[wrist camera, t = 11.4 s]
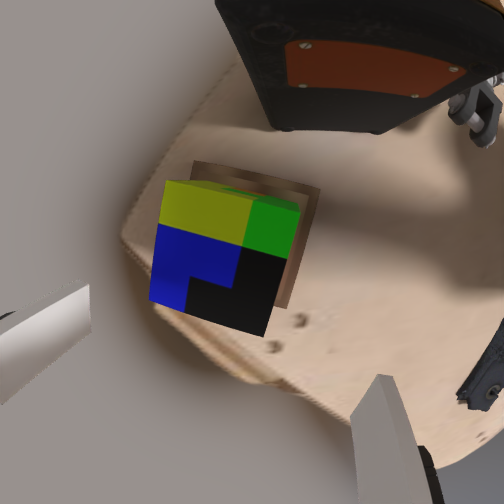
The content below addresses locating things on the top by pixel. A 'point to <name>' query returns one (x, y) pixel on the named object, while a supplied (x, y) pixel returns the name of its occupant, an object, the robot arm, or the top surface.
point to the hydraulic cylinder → (478, 110)
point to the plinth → (274, 188)
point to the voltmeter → (362, 57)
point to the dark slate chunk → (486, 376)
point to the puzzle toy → (221, 252)
